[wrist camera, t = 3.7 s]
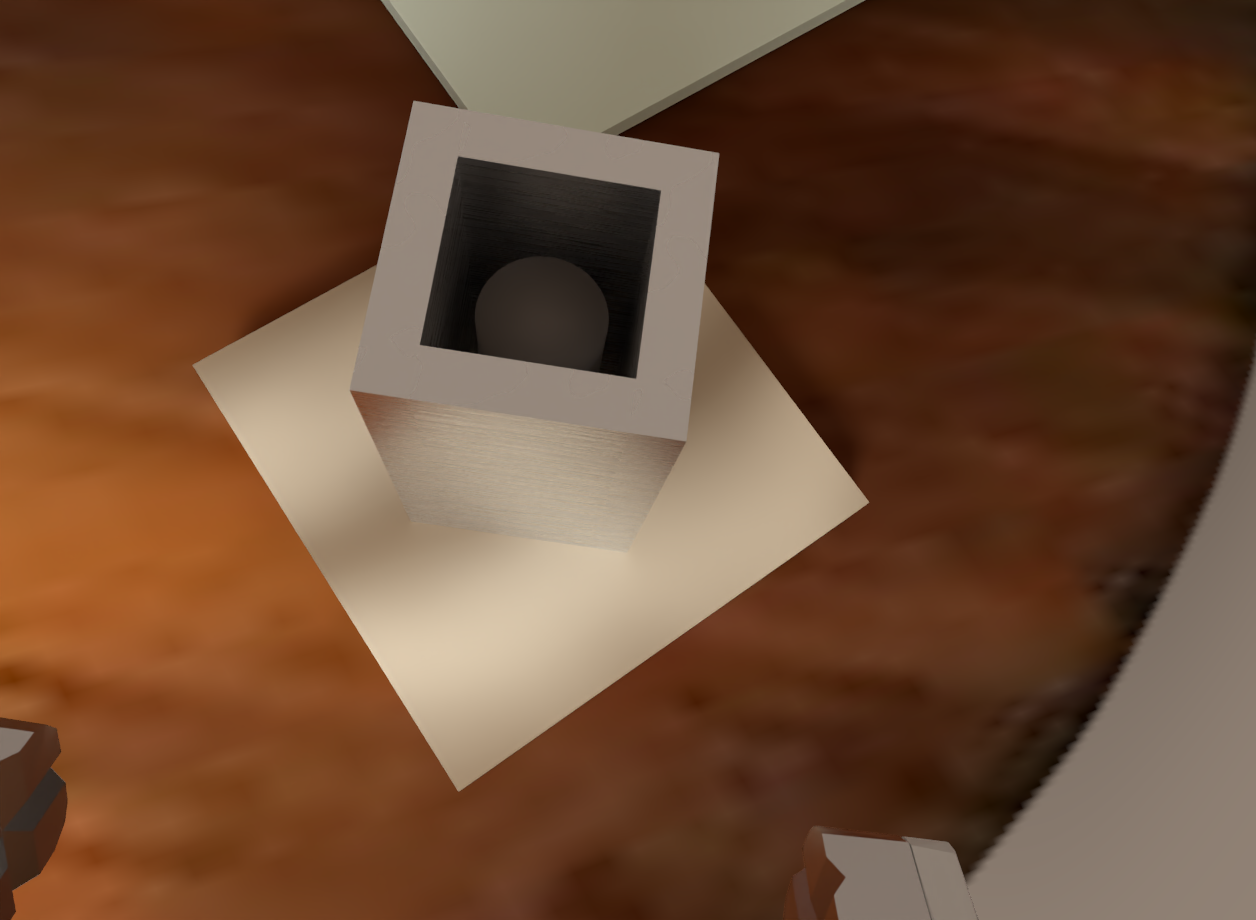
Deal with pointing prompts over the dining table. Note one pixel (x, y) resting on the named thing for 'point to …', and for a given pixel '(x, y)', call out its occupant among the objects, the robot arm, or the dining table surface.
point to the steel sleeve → (524, 391)
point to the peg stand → (514, 566)
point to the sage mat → (595, 51)
